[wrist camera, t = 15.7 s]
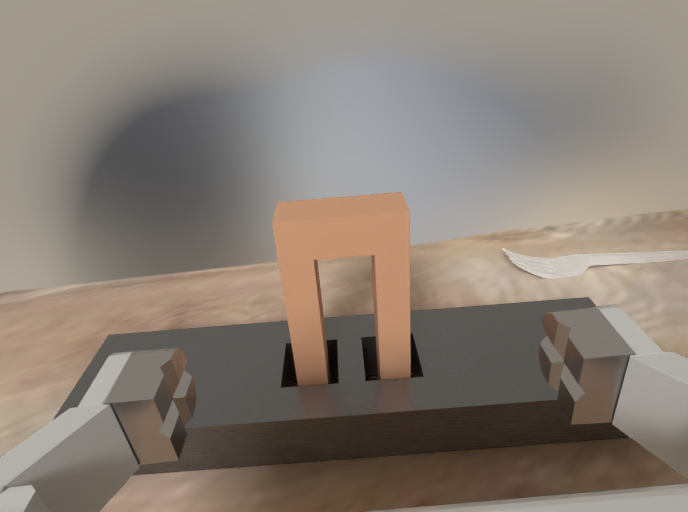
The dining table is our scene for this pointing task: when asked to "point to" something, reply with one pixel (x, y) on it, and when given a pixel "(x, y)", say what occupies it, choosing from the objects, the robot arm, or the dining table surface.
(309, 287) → the clip
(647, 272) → the dining table surface
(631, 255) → the fork
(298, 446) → the rail
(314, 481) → the dining table surface
